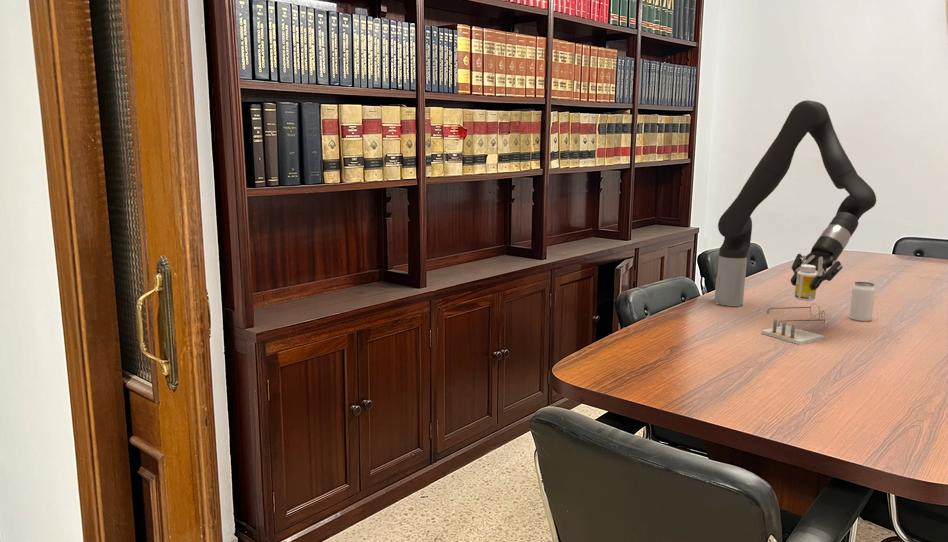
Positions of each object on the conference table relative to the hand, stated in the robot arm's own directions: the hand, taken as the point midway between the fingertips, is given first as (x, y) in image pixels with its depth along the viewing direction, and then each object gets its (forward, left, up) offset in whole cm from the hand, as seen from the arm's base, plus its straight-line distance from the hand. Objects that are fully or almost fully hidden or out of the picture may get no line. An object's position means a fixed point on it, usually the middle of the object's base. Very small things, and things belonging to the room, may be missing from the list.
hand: (802, 286), depth 203 cm
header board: (-1, 0, -16) cm, 16 cm away
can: (+16, +31, -16) cm, 39 cm away
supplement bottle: (+1, +2, -4) cm, 5 cm away
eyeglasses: (-2, +19, -16) cm, 25 cm away
